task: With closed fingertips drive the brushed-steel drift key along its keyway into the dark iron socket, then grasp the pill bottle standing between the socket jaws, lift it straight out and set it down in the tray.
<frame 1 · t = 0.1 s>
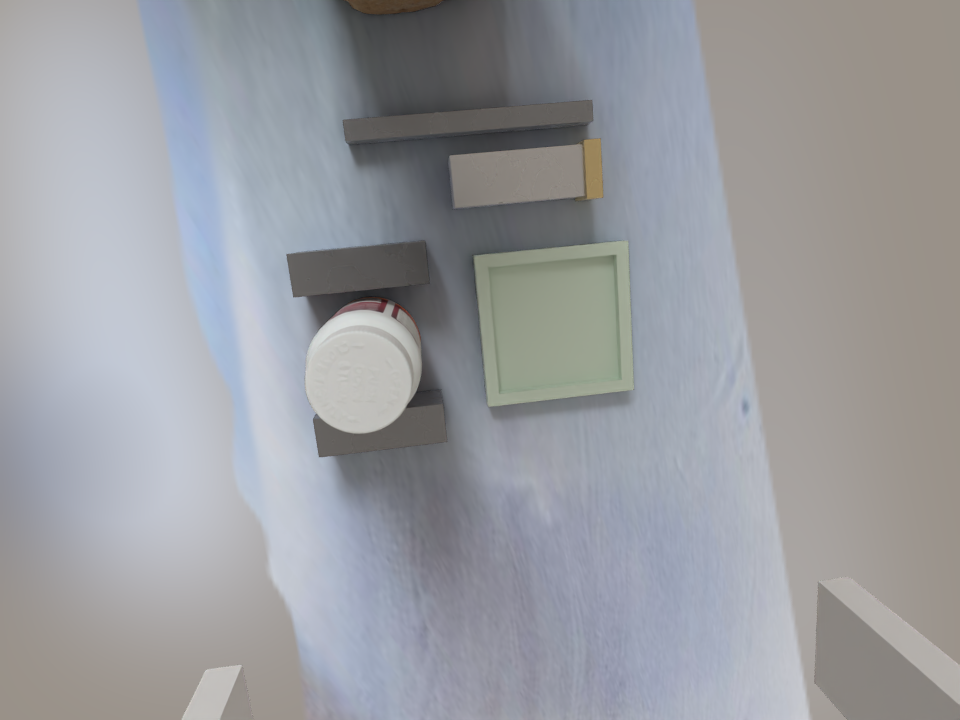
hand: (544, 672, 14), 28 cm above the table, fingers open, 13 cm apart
pill bottle: (375, 341, 40), on the table
socket: (374, 341, 40), on the table
tray: (553, 322, 41), on the table
drift key: (524, 176, 37), point 1 cm above the table, slide at 0.0 cm
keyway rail: (468, 124, 37), on the table
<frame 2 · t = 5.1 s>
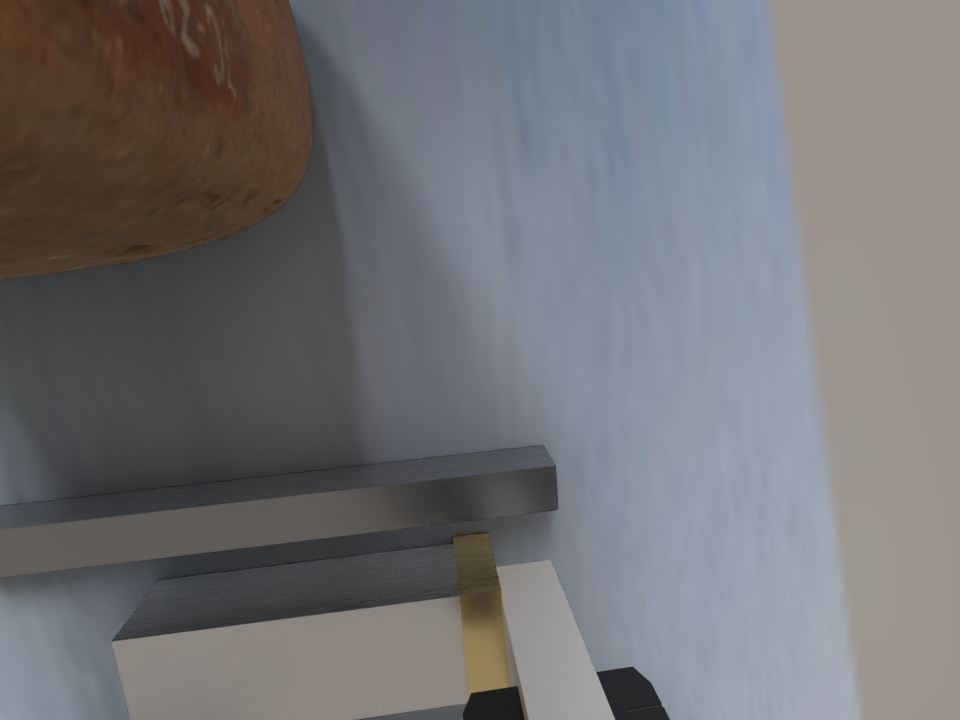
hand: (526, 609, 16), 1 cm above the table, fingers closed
drift key: (326, 640, 15), point 1 cm above the table, slide at 1.7 cm, touching gripper
block: (92, 106, 14), on the table
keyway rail: (268, 497, 16), on the table
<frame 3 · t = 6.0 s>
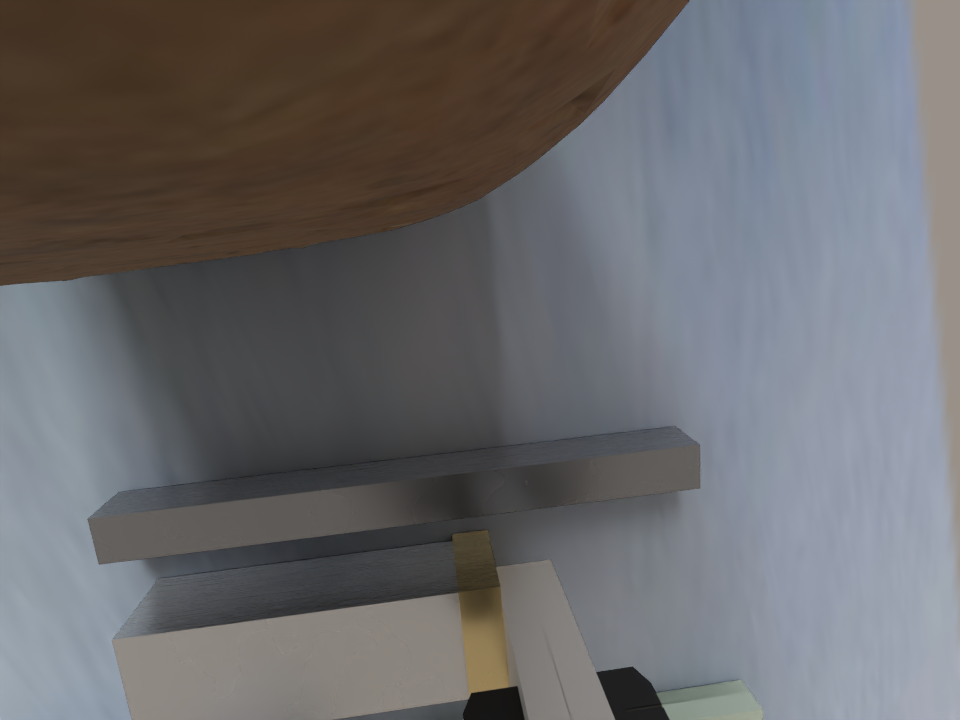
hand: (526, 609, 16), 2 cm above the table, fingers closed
drift key: (326, 637, 16), point 1 cm above the table, slide at 5.5 cm, touching gripper
block: (256, 94, 14), on the table
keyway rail: (409, 478, 16), on the table
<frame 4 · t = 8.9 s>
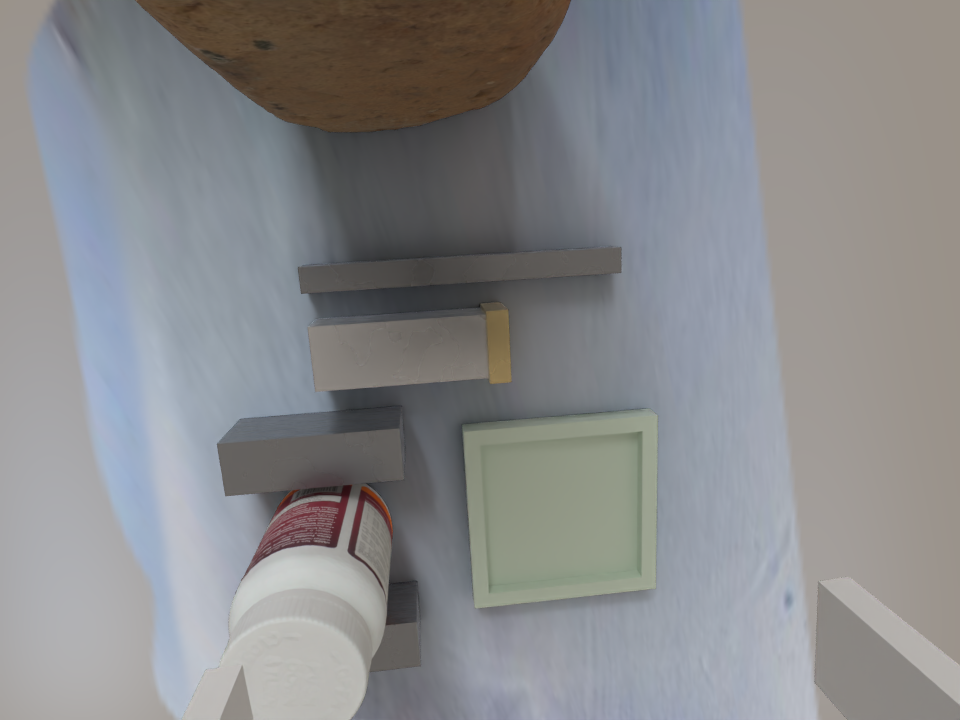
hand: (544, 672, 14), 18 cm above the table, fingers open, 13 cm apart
pill bottle: (335, 523, 32), on the table
socket: (335, 525, 32), on the table
tray: (559, 503, 33), on the table
drift key: (411, 347, 28), point 1 cm above the table, slide at 5.7 cm
block: (392, 47, 27), on the table
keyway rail: (461, 267, 29), on the table
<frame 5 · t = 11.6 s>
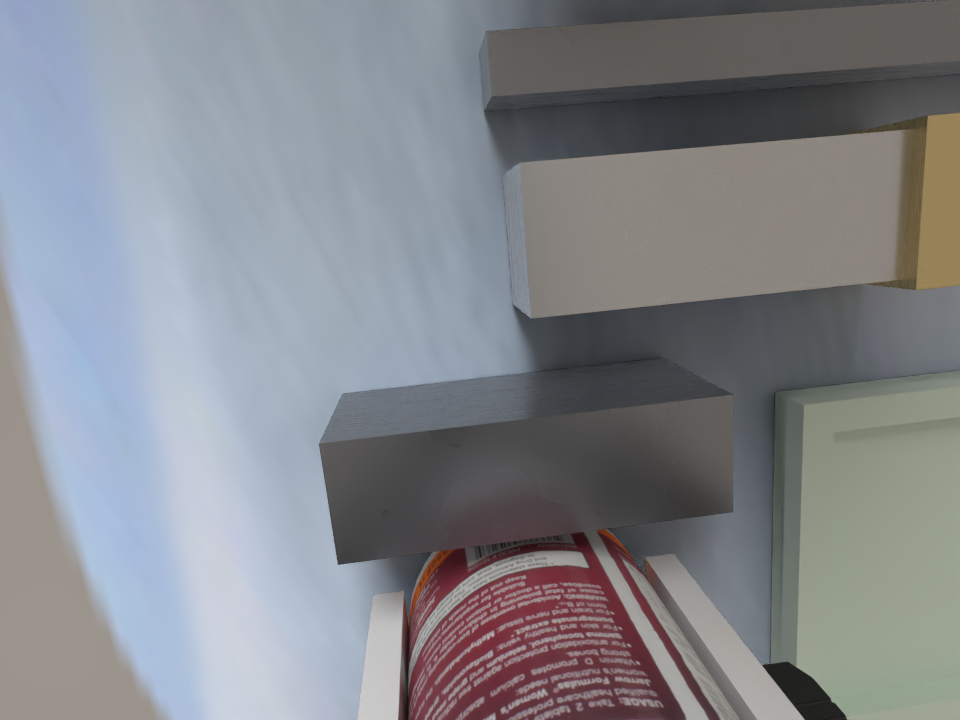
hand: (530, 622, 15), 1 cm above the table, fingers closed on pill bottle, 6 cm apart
pill bottle: (523, 595, 16), on the table, touching gripper
socket: (524, 599, 16), on the table
tray: (939, 540, 17), on the table
drift key: (719, 222, 13), point 1 cm above the table, slide at 5.7 cm
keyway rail: (801, 58, 14), on the table
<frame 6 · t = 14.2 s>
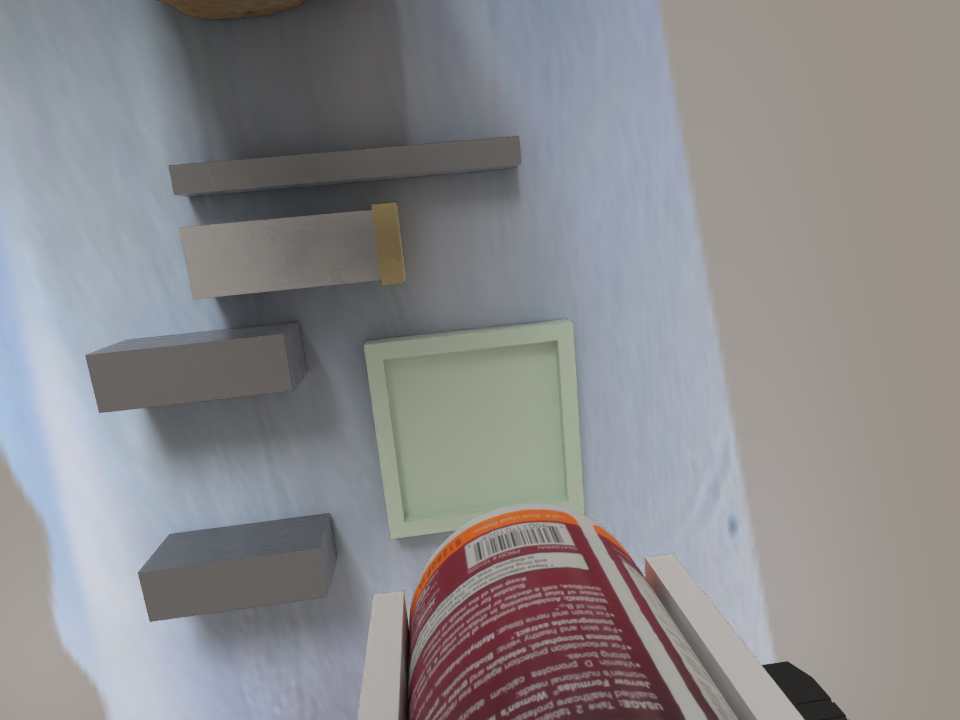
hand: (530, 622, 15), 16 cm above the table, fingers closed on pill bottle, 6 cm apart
pill bottle: (523, 596, 16), point 15 cm above the table, touching gripper
socket: (237, 454, 30), on the table
tray: (477, 425, 31), on the table
drift key: (299, 252, 27), point 1 cm above the table, slide at 5.7 cm
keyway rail: (353, 168, 27), on the table
when the fingers open (3 cm above the table, at t = 16.9 s): pill bottle drops 1 cm, resting on tray.
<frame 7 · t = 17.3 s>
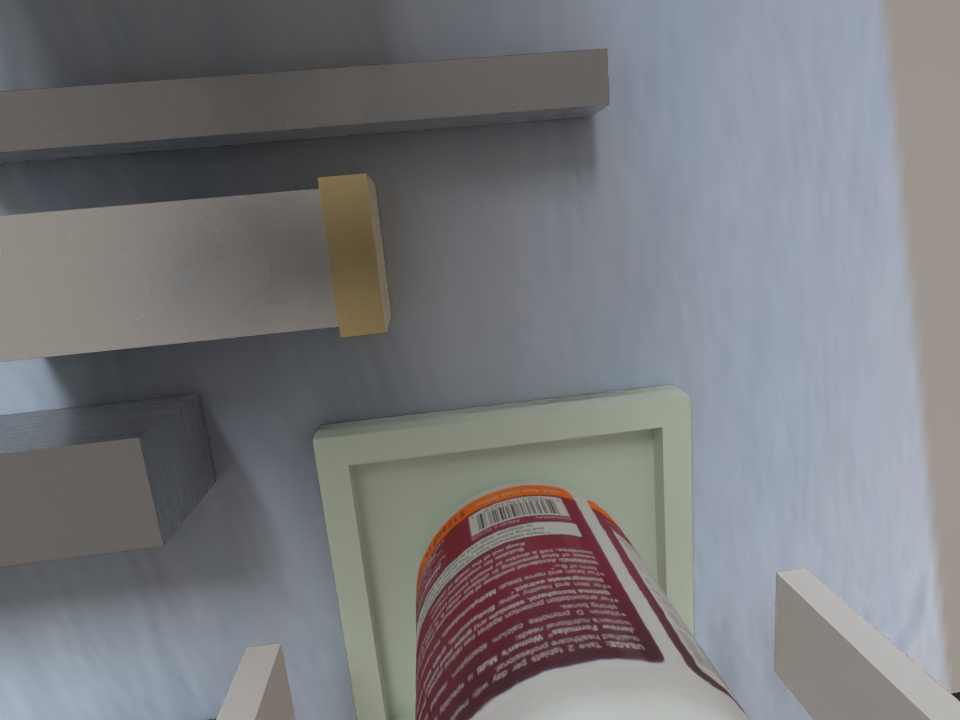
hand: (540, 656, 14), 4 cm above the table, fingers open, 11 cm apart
pill bottle: (522, 567, 18), resting on tray
socket: (96, 621, 17), on the table
tray: (513, 564, 18), on the table
drift key: (185, 271, 14), point 1 cm above the table, slide at 5.7 cm
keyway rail: (292, 114, 15), on the table
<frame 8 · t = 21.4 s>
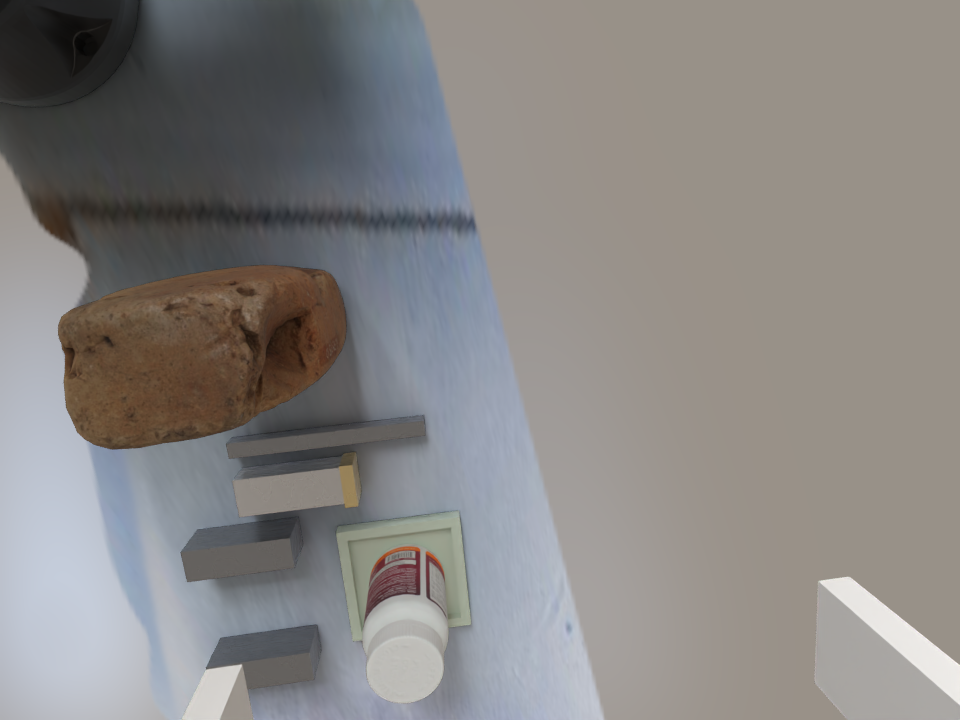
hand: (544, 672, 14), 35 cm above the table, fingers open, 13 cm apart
pill bottle: (408, 573, 50), resting on tray
socket: (261, 591, 50), on the table
tray: (405, 572, 51), on the table
drift key: (298, 485, 47), point 1 cm above the table, slide at 5.7 cm
block: (278, 311, 45), on the table
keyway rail: (330, 433, 48), on the table
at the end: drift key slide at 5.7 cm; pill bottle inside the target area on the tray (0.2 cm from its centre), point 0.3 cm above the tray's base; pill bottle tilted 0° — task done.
